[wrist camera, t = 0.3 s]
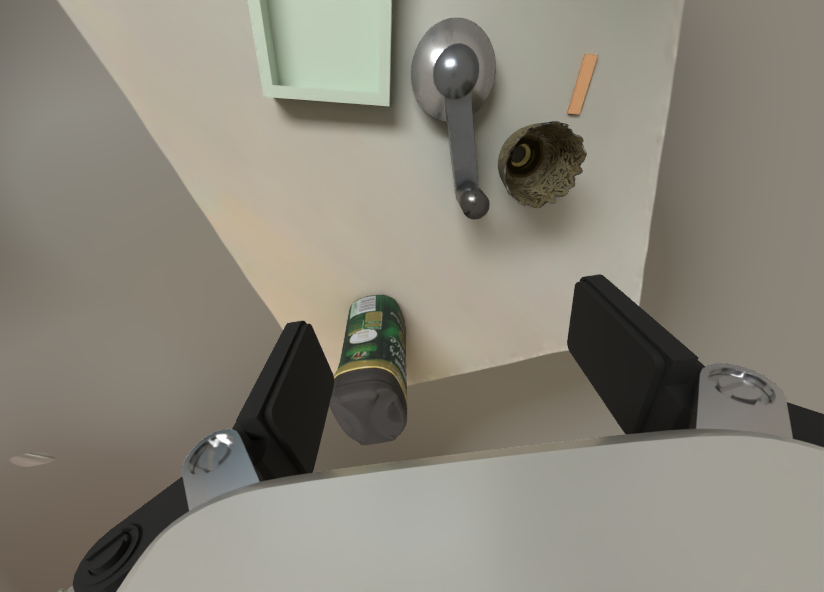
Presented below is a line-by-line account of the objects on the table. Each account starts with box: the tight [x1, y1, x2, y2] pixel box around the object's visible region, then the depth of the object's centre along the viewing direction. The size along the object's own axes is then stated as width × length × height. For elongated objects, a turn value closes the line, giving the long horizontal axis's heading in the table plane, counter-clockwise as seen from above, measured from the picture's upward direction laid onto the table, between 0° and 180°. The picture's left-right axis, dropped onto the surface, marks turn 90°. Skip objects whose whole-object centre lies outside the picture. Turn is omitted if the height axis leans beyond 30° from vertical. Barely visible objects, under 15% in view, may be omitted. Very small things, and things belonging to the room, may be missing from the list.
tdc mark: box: [568, 54, 598, 114], centre depth 31 cm, size 5×1×1 cm, turn 176°
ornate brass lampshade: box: [498, 121, 587, 208], centre depth 32 cm, size 8×7×8 cm
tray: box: [247, 0, 392, 106], centre depth 27 cm, size 12×12×2 cm
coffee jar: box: [329, 295, 407, 445], centre depth 39 cm, size 10×8×19 cm
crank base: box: [411, 18, 496, 122], centre depth 30 cm, size 8×8×2 cm
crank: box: [433, 43, 489, 219], centre depth 29 cm, size 14×4×6 cm, turn 11°
